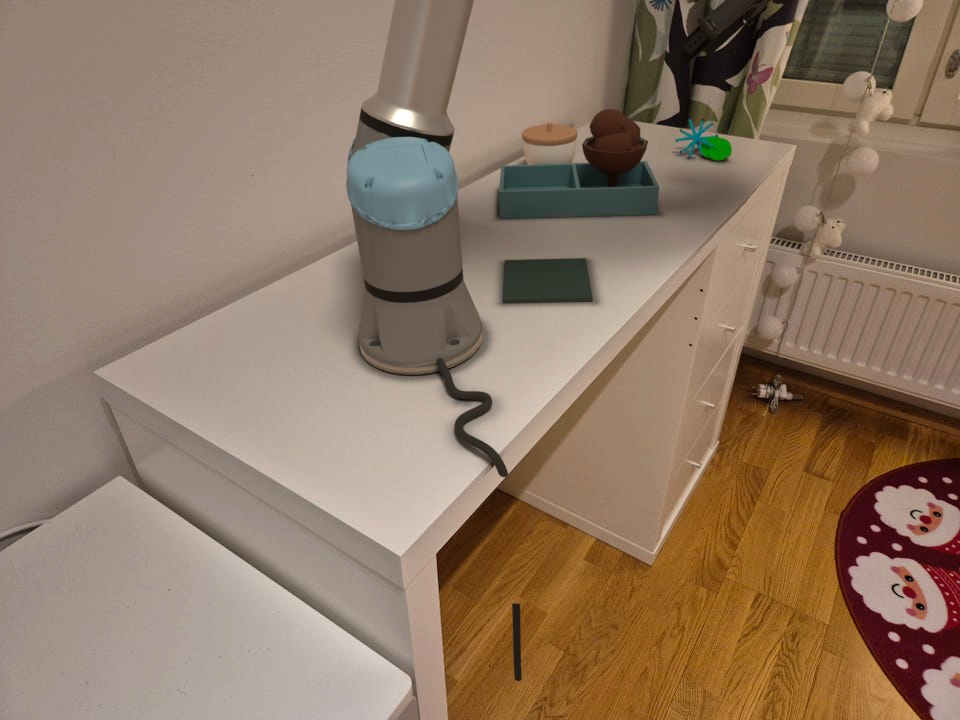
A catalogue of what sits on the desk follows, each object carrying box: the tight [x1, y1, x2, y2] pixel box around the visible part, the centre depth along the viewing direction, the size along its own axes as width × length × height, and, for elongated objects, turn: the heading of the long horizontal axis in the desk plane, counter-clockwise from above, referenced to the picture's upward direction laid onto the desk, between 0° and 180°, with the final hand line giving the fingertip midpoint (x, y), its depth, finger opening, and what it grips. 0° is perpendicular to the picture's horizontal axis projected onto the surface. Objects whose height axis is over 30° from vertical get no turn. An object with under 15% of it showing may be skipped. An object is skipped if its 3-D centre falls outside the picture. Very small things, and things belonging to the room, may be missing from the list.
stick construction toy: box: [674, 118, 733, 162], centre depth 134 cm, size 12×7×8 cm
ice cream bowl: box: [581, 108, 649, 187], centre depth 112 cm, size 11×11×15 cm
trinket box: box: [521, 122, 578, 165], centre depth 129 cm, size 11×11×9 cm
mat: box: [502, 257, 594, 304], centre depth 93 cm, size 12×12×1 cm
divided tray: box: [498, 160, 660, 220], centre depth 116 cm, size 14×26×5 cm, turn 87°
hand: (688, 57), depth 98 cm, fingers open, 13 cm apart
